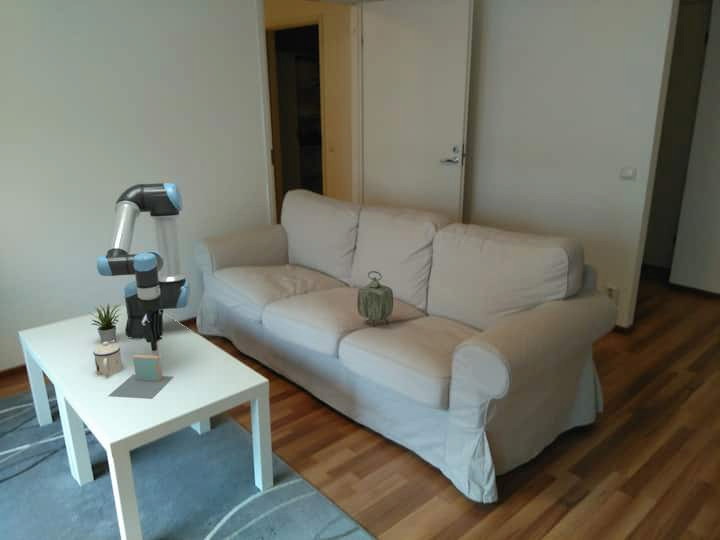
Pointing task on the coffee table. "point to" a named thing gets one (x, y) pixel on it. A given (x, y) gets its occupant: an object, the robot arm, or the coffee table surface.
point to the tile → (147, 367)
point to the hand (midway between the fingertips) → (157, 357)
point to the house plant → (106, 324)
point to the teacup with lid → (107, 359)
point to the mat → (140, 388)
